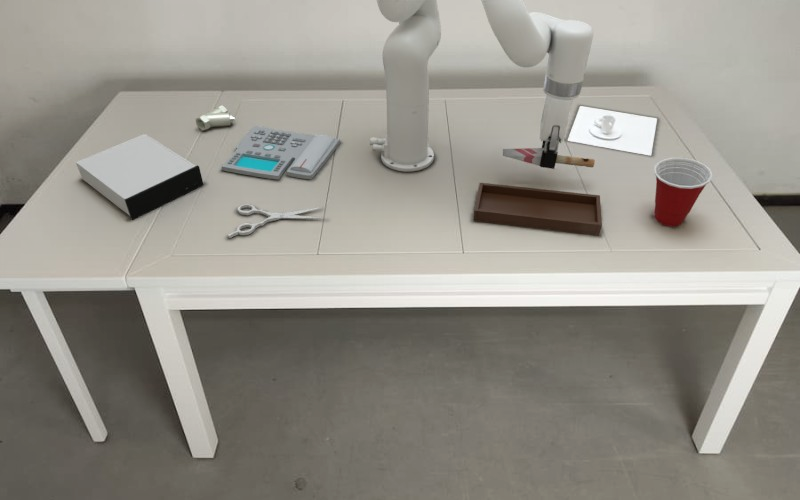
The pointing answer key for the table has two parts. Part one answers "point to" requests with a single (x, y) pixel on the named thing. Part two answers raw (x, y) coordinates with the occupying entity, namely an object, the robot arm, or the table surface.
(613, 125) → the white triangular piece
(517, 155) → the paintbrush
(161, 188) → the disc drive
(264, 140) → the office telephone
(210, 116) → the pipe fitting
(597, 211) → the tray
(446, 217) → the table surface
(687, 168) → the plastic cup
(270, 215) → the scissors
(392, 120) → the robot arm
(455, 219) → the table surface
